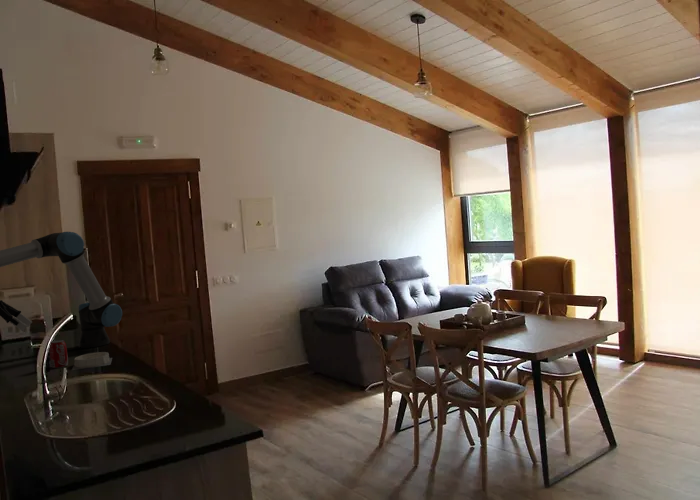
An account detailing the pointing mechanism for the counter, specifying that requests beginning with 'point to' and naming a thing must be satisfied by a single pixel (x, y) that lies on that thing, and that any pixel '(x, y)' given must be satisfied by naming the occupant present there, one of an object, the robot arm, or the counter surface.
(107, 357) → the bowl
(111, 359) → the mat
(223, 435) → the counter surface
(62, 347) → the soda can
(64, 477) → the counter surface
